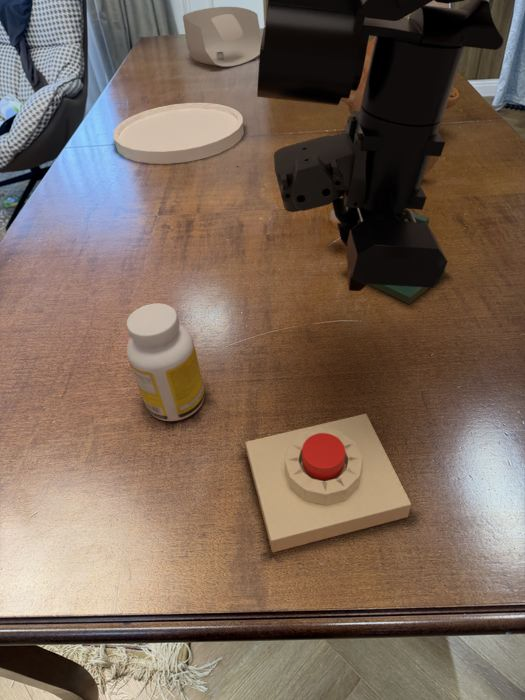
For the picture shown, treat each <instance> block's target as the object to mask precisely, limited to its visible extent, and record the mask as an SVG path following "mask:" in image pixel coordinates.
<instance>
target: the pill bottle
mask: <svg viewBox="0 0 525 700" xmlns="http://www.w3.org/2000/svg"><path fill="white" fill-rule="evenodd" d="M126 328H127V331H128V334H129V337H130V338H129V340H128V342H127V345H126V356H127V360H128V363H129V365H130V368H131V371H132V373H133V375H134V378H135V382H136V384H137V386H138V389H139V392H140V394H141V397H142V399H143V403H144V406H145V407H146V410H147V411H148V412H149V414H150V415H152V416H153V418H156V419H158V420H160V421H165V422H175V421H176V422H177V421H181V420H184V419H186V418H188V417H190V416H192V415H193V414H195V413H196V412H197V411H198V410H199V409H200V408H201V407H202V405H203V403H204V400H205V396H206V395H205V394H206V391H205V385H204V381H203V377H202V373H201V368H200V364H199V360H198V355H197V350H196V346H195V343H194V338H193V336H192V334H191V332H190V331H189V330H188V328H186V327H185V326H184V325H182V324H180V321H179V317H178V314H177V311H176V310H175V308H174V307H172V306H170V304H166V303H161V302H160V303H157V302H156V303H149V304H146V305H142V306H140V307H138V308H137V309H135V310H134V311H133V312H132V313H130V315H128V318H127V320H126Z"/></svg>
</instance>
